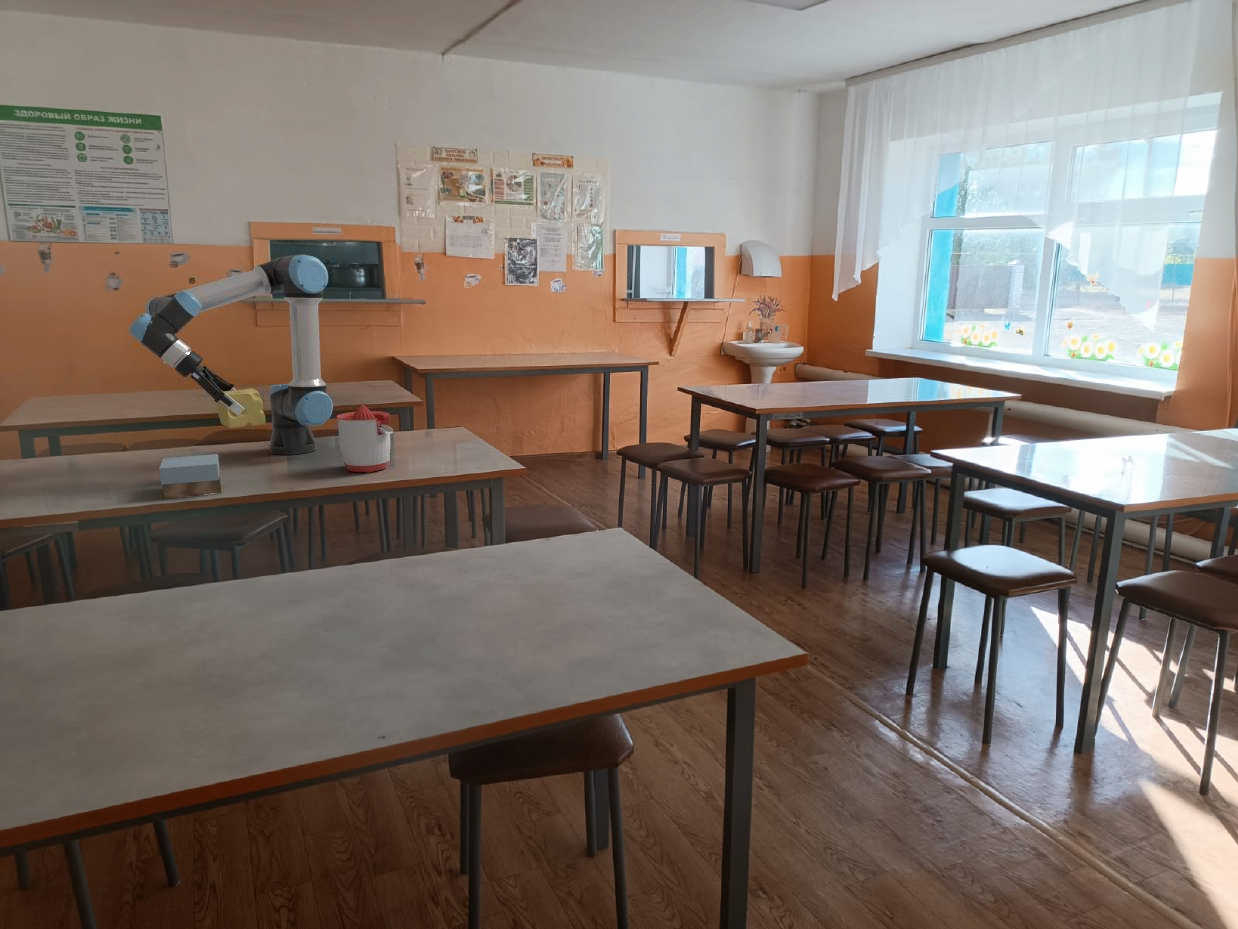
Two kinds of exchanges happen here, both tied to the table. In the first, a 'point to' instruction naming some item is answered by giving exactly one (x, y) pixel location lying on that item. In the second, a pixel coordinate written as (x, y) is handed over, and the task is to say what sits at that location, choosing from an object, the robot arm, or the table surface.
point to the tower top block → (189, 469)
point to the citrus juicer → (364, 439)
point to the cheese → (249, 415)
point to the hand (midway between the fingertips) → (244, 408)
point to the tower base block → (191, 489)
